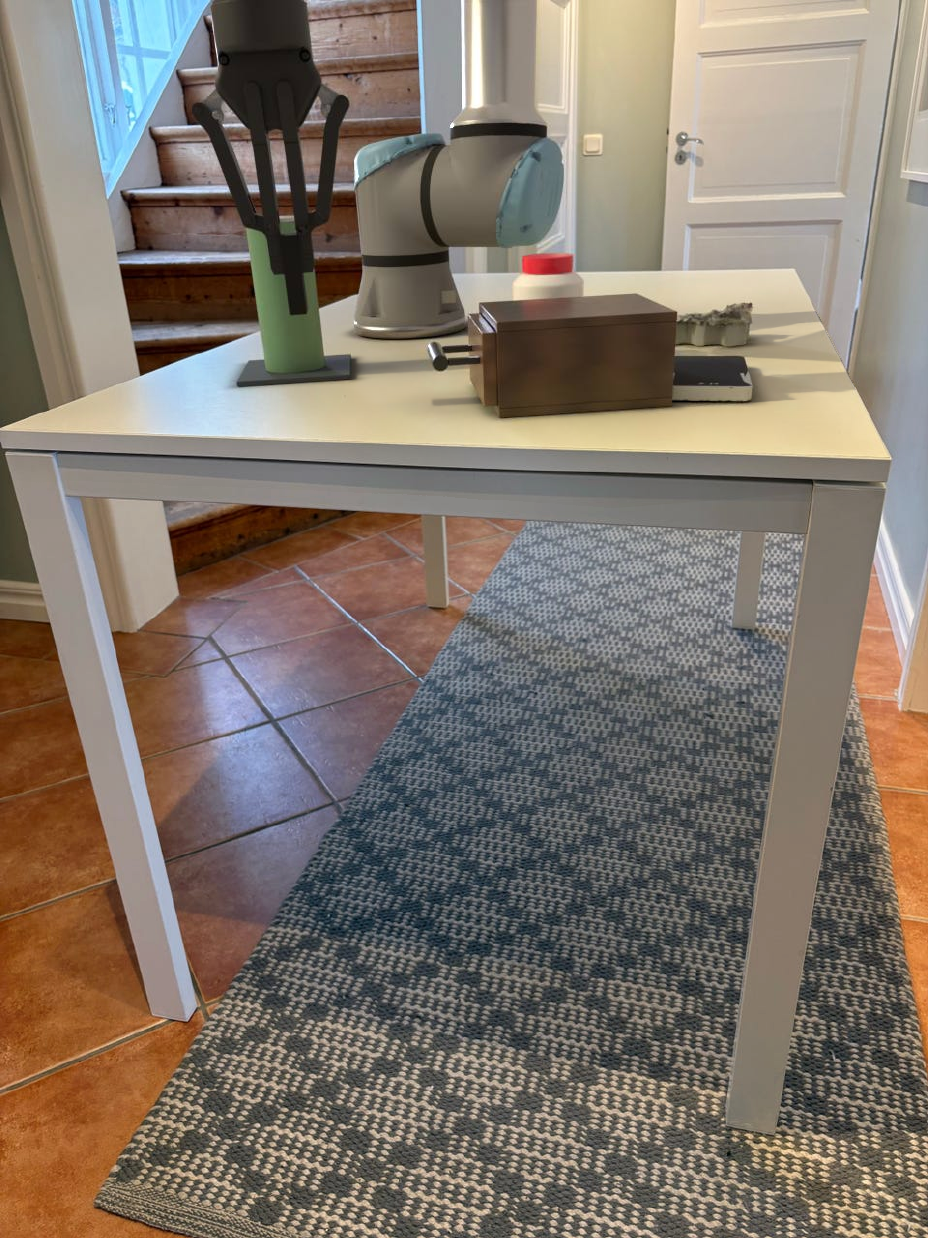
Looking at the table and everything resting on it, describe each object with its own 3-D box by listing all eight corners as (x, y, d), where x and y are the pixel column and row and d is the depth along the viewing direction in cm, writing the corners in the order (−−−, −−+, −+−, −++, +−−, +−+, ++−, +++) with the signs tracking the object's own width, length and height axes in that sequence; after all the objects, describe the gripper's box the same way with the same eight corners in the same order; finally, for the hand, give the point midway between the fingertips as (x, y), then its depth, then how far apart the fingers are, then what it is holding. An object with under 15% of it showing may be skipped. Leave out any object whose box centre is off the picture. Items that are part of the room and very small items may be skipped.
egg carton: (753, 337, 108) (757, 301, 106) (743, 348, 102) (747, 311, 100) (666, 333, 112) (668, 299, 110) (651, 344, 106) (653, 308, 104)
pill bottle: (579, 368, 96) (581, 258, 91) (508, 368, 98) (506, 260, 93) (585, 354, 103) (587, 250, 98) (518, 354, 104) (517, 252, 99)
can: (268, 363, 103) (248, 217, 96) (326, 359, 104) (310, 214, 97) (263, 375, 97) (241, 220, 90) (324, 371, 98) (307, 217, 91)
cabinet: (498, 417, 79) (496, 322, 75) (481, 386, 90) (478, 302, 86) (671, 406, 80) (677, 311, 76) (633, 376, 91) (636, 293, 88)
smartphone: (744, 355, 92) (753, 387, 79) (742, 368, 93) (751, 402, 80) (668, 355, 94) (665, 386, 81) (667, 368, 95) (664, 401, 82)
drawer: (436, 410, 79) (432, 335, 76) (427, 382, 89) (423, 316, 86) (645, 396, 80) (648, 322, 77) (612, 370, 90) (615, 304, 87)
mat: (249, 364, 106) (248, 360, 106) (351, 358, 107) (350, 353, 106) (236, 386, 95) (236, 381, 95) (350, 379, 96) (349, 374, 96)
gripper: (163, -8, 66) (220, 324, 77) (340, -16, 67) (372, 313, 78) (180, 6, 73) (231, 310, 84) (341, -1, 73) (370, 300, 85)
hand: (299, 311), depth 81 cm, fingers closed
